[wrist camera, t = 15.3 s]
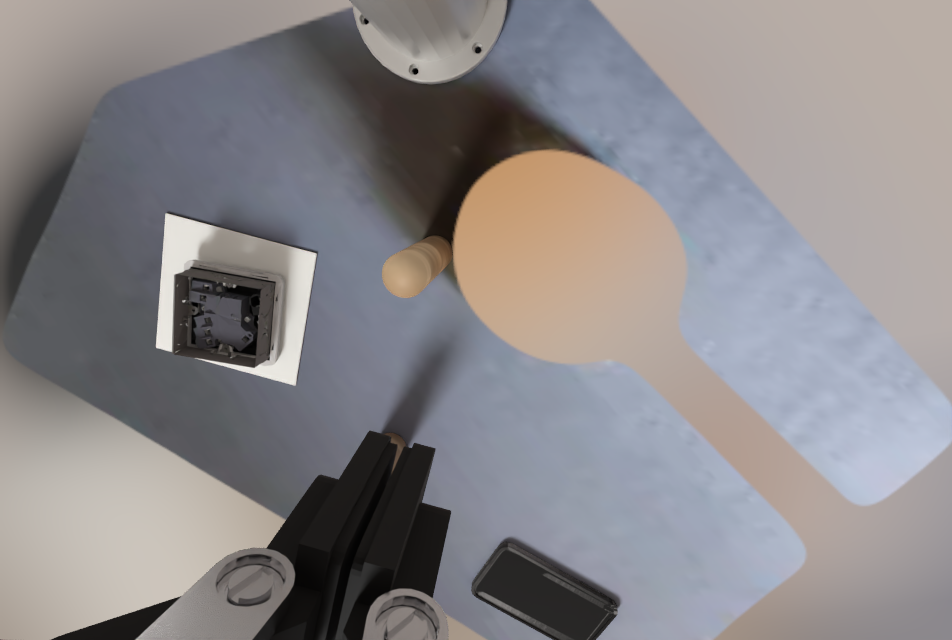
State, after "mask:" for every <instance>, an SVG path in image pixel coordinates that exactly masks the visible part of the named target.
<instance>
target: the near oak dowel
mask: <svg viewBox="0 0 952 640" xmlns="http://www.w3.org/2000/svg"><path fill="white" fill-rule="evenodd" d="M452 255H453V251H452V247H451V245H450V243H449V242H448V241H447V240H446V239H445V238H443V237H441V236H437V235H433V236H429V237H427V238H425V239H423V240H421V241H419V242H417V243H415V244H413V245H411V246H410V247H408V248H406V249H404V250H402V251H400V252H398V253H396V254H394V255H392V256H391V257H389V258H388V259H387V261H386V262H385V264H384V266H383V270H382V278H383V282H384V284H385V286H386V288H387V289H388V290H389V291H390V292H391V293H392V294H394V295H396V296H398V297H402V298H410V297H413V296H416V295H417V294H419V293H420V292H421V291H422V290H423V289H424V288H425V287H426V286H427V285H428V284H429V283H430V282H431V281H432V280H433V279H434V278H435V277H436V276H437V275H438V274H439V273H440V272H441V271H442V270H443V269H444V268H445V267H446V266H447V265H448V264H449V263H450V261H451V259H452Z"/></svg>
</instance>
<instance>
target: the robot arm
mask: <svg viewBox="0 0 952 640" xmlns="http://www.w3.org/2000/svg"><path fill="white" fill-rule="evenodd" d="M350 1H351V3H352V4H353V12H354V16H355V20H356V23H357V27H358V29H359V31H360V34H361V36H362V38H363V40H364V42H365V44H366V45H367V47H368V48H369V50H370V51H371V53H372V54H373V55H374V56H375V57H376V58H377V59H378V60H379V61H380V62H381V63H382V64H383V65H384V66H385V67H386V68H388V69H389V70H390V71H391V72H393V73H395V74H396V75H398V76H400V77H402V78H404V79H406V80H410V81H413V82H416V83H423V84H439V83H446V82H449V81H452V80H455V79H458V78H460V77H462V76H464V75H465V74H467V73H469V72H471V71H472V70H473V69H474V68H476V67H477V66H478V65H479V64H480V63H481V62H482V61H483V60H484V59H485V58H486V56H487V55H488V54H489V53H490V51H491V50H492V49H493V47H494V45H495V43H496V41H497V39H498V38H499V36H500V33H501V30H502V27H503V24H504V21H505V16H506V10H507V3H508V0H350ZM366 20H368V21H369V23H368V24H367V25H366V24H365V21H366ZM477 48H481V52H480V53H478V54H477V53H476V52H475V50H476V49H477ZM415 69H418V74H416V75H414V74H413V71H414V70H415ZM397 448H398V444H394V443H391V436H388V435H384V434H381V433H377V432H373V431H369V432H368V433H367V435H366V437H365V438H364V440H363V441H362V443H361V445H360V446H359V448H358V449H357V451H356V453H355V454H354V456H353V457H352V459H351V461H350V462H349V464H348V465H347V467H346V469H345V470H344V472H343V473H342V475H341V477H340V478H339V480H338V479H334V478H331V477H327V476H324V475H319V476H318V477H317V478H316V479H315V480H314V482H313V483H312V484H311V486H310V487H309V489H308V490H307V491H306V493H305V494H304V496H303V497H302V499H301V500H300V501H299V503H298V504H297V506H296V507H295V508H294V510H293V511H292V513H291V514H290V516H289V517H288V518H287V520H286V521H285V523H284V524H283V525H282V527H281V528H280V530H279V531H278V533H277V534H276V535H275V537H274V538H273V540H272V541H271V543H270V544H269V545H268V547H267V548H250V549H244V550H240V551H237V552H235V553H232V554H230V555H228V556H226V557H225V558H224V559H222V560H221V561H219V562H218V563H216V564H215V565H214V566H213V567H212V568H211V569H210V570H209V571H208V572H207V573H206V574H205V575H204V576H203V577H202V578H201V579H200V580H198V581H197V582H196V583H195V584H194V585H193V586H192V587H191V588H190V589H189V590H188V591H187V592H186V593H185V594H184V595H182V596H180V597H178V598H174V599H171V600H168V601H165V602H162V603H159V604H156V605H153V606H150V607H147V608H144V609H141V610H138V611H135V612H132V613H128V614H125V615H122V616H119V617H116V618H113V619H110V620H107V621H104V622H101V623H98V624H95V625H92V626H89V627H86V628H83V629H80V630H77V631H73V632H70V633H67V634H65V635H62V636H58V637H56V638H54V639H52V640H448V624H447V617H446V615H445V613H444V612H443V610H442V608H441V606H440V605H439V604H438V603H437V602H436V601H435V600H434V599H433V593H434V589H435V584H436V580H437V575H438V570H439V566H440V561H441V557H442V552H443V547H444V543H445V538H446V533H447V529H448V524H449V520H450V515H451V511H450V510H446V509H443V508H439V507H436V506H432V505H428V504H425V503H422V500H423V496H424V492H425V488H426V484H427V480H428V477H429V473H430V469H431V465H432V461H433V457H434V453H435V448H431V447H428V446H424V445H421V444H417V443H414V445H413V447H412V448H409V447H405V446H404V448H403V450H402V452H401V454H400V456H399V459H398V461H397V463H396V465H395V468H394V470H393V472H392V469H393V465H394V461H395V457H396V452H397ZM0 640H2V639H0Z"/></svg>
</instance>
